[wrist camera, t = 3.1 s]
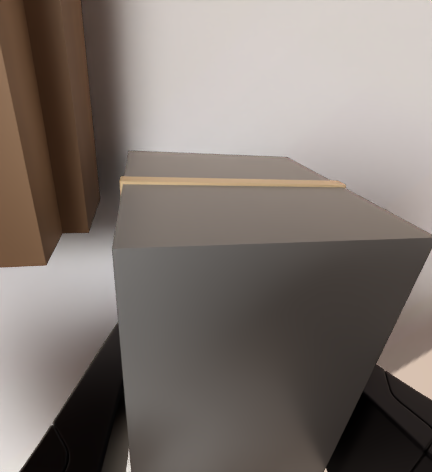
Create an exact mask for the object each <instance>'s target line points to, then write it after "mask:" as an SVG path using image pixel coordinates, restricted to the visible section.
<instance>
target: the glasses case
mask: <svg viewBox="0 0 432 472" xmlns="http://www.w3.org/2000/svg"><path fill="white" fill-rule="evenodd" d="M345 187H346V185H345V184H343V183H341V182H339V181H331V180H329V179H327V178H325V177H323V176H321V175H319V174H318V173H316V172H314V171H312V170H310V169H308V168H306V167H305V166H303V165H301V164H299V163H297V162H295V161H293V160H291V159H290V158H288V157H273V156H248V155H224V154H199V153H174V152H149V151H128V156H127V162H126V168H125V174H124V176H121V177H120V195H121V198H120V204H119V210H118V216H117V222H116V228H115V234H114V240H113V246H112V255H113V267H114V278H115V290H116V301H117V313H118V324H119V336H120V348H121V359H122V371H123V382H124V394H125V405H126V417H127V429H128V440H129V452H130V463H131V472H324V470H325V468H326V466H327V464H328V462H329V460H330V458H331V456H332V454H333V452H334V450H335V448H336V446H337V444H338V441H339V439H340V437H341V435H342V433H343V431H344V429H345V427H346V425H347V423H348V421H349V419H350V417H351V415H352V413H353V410H354V408H355V406H356V404H357V402H358V400H359V398H360V396H361V394H362V392H363V390H364V388H365V386H366V384H367V381H368V379H369V377H370V375H371V373H372V371H373V369H374V367H375V365H376V363H377V361H378V359H379V357H380V355H381V353H382V350H383V348H384V346H385V344H386V342H387V340H388V338H389V336H390V334H391V332H392V330H393V328H394V326H395V324H396V321H397V319H398V317H399V315H400V313H401V311H402V309H403V307H404V305H405V303H406V301H407V299H408V297H409V295H410V293H411V290H412V288H413V286H414V284H415V282H416V280H417V278H418V276H419V274H420V272H421V270H422V268H423V266H424V264H425V261H426V259H427V257H428V255H429V253H430V251H431V249H432V235H431V234H430V233H428V232H426V231H424V230H422V229H420V228H418V227H417V226H415V225H413V224H411V223H409V222H407V221H405V220H403V219H402V218H400V217H398V216H396V215H394V214H392V213H390V212H389V211H387V210H385V209H383V208H381V207H379V206H377V205H375V204H374V203H372V202H370V201H368V200H366V199H364V198H362V197H361V196H359V195H357V194H355V193H353V192H351V191H349V190H347V189H346V188H345Z"/></svg>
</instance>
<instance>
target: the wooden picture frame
mask: <svg viewBox="0 0 432 472" xmlns="http://www.w3.org/2000/svg"><path fill="white" fill-rule="evenodd" d="M99 201H100V192H99V182H98V172H97V161H96V151H95V141H94V131H93V121H92V110H91V100H90V90H89V80H88V69H87V59H86V49H85V39H84V28H83V18H82V8H81V0H0V267H21V266H43V265H47V263H48V261H49V259H50V257H51V255H52V253H53V251H54V249H55V247H56V245H57V243H58V241H59V239H60V237H61V235H62V233H89V231H90V228H91V225H92V222H93V219H94V216H95V213H96V210H97V207H98V204H99Z"/></svg>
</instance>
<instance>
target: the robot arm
mask: <svg viewBox="0 0 432 472" xmlns="http://www.w3.org/2000/svg"><path fill="white" fill-rule="evenodd" d="M128 450H129V440H128V429H127V417H126V405H125V394H124V382H123V371H122V359H121V348H120V336H119V324H118V323H117V324H116V326H115V327H114V329H113V330H112V332H111V333H110V335H109V336H108V338H107V340H106V341H105V343H104V344H103V346H102V347H101V349H100V350H99V352H98V353H97V355H96V356H95V358H94V360H93V361H92V363H91V364H90V366H89V367H88V369H87V370H86V372H85V373H84V375H83V377H82V378H81V380H80V381H79V383H78V384H77V386H76V387H75V389H74V390H73V392H72V393H71V395H70V397H69V398H68V400H67V401H66V403H65V404H64V406H63V407H62V409H61V410H60V412H59V414H58V415H57V417H56V418H55V420H54V421H53V425H51V426H50V427H49V429H48V430H47V432H46V433H45V435H44V436H43V438H42V440H41V441H40V443H39V444H38V446H37V447H36V448H35V450H34V451H33V453H32V454H31V456H30V457H29V459H28V460H27V462H26V463H25V465H24V466H23V467H22V469H21V470H20V471H19V472H126V466H127V458H128ZM326 469H327V472H432V400H431V399H429V398H428V397H426V396H424V395H422V394H421V393H419V392H418V391H416V390H415V389H413V388H411V387H410V386H408V385H407V384H405V383H404V382H402V381H400V380H399V379H398V378H396V377H395V376H393V375H392V374H390V373H389V372H387V371H384V369H382V368H381V367H379V366H378V365H375V367H374V369H373V371H372V373H371V375H370V377H369V379H368V381H367V384H366V386H365V388H364V390H363V392H362V394H361V396H360V398H359V400H358V402H357V404H356V406H355V408H354V410H353V413H352V415H351V417H350V419H349V421H348V423H347V425H346V427H345V429H344V431H343V433H342V435H341V437H340V439H339V441H338V444H337V446H336V448H335V450H334V452H333V454H332V456H331V458H330V460H329V462H328V464H327V466H326Z"/></svg>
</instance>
